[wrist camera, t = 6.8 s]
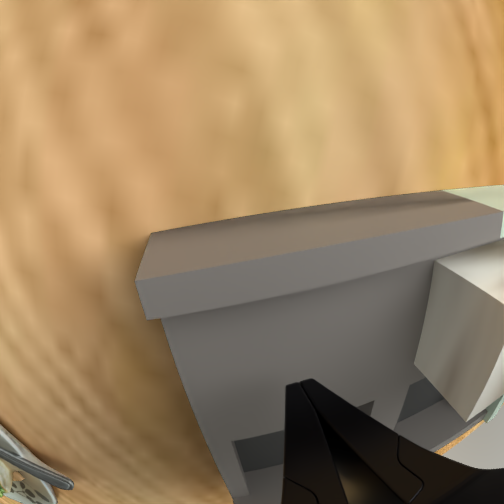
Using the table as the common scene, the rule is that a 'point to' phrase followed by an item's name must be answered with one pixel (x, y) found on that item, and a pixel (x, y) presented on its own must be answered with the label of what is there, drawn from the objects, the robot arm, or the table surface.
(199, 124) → the table surface
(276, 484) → the box
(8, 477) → the salad plate
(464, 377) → the cream block
